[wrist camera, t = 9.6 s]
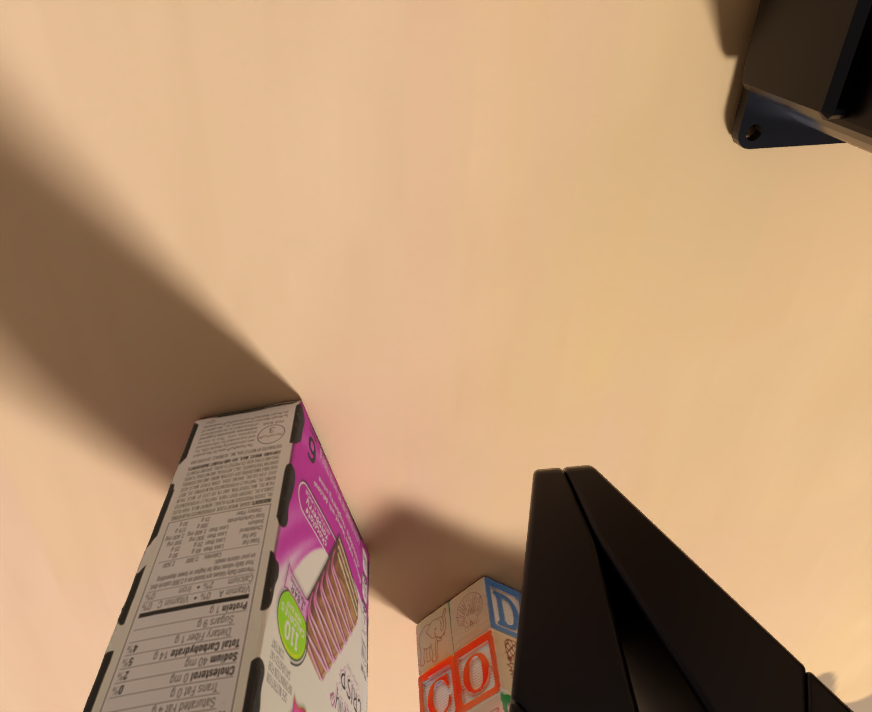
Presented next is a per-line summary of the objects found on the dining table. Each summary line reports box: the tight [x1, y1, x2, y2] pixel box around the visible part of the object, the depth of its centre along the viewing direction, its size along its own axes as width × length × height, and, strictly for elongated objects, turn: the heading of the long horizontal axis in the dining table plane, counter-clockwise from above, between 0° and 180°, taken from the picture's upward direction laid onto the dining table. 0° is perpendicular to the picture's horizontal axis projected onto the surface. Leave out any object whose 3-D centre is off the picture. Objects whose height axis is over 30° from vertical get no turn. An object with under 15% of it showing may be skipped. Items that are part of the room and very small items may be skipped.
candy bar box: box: [83, 401, 369, 712], centre depth 20 cm, size 11×5×16 cm, turn 11°
